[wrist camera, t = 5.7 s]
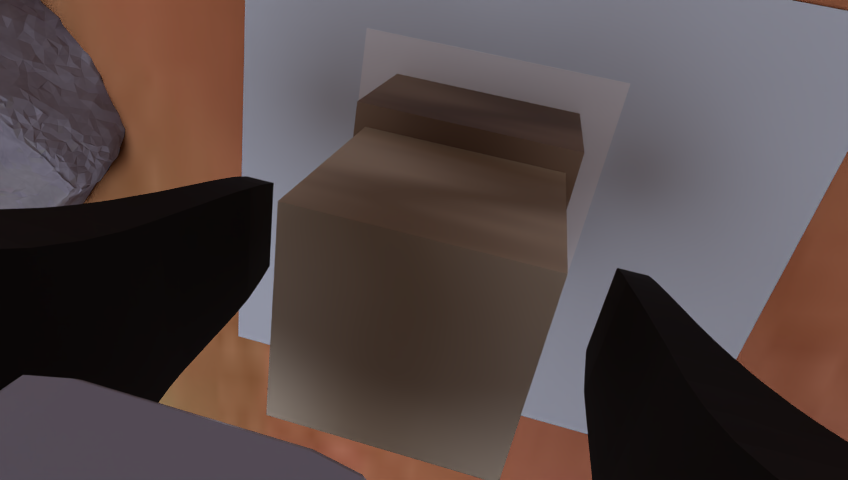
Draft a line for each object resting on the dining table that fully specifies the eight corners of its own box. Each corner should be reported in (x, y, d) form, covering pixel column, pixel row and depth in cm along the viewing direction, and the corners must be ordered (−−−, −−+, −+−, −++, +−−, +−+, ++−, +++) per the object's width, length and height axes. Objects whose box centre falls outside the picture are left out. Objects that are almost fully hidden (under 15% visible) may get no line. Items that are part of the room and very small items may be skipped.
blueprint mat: (911, 22, 13) (916, 23, 13) (680, 456, 19) (681, 461, 19) (251, -102, 15) (246, -103, 15) (241, 332, 21) (238, 336, 21)
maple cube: (565, 173, 12) (568, 274, 8) (515, 339, 14) (497, 483, 10) (365, 126, 13) (277, 200, 9) (344, 294, 15) (266, 414, 11)
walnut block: (579, 113, 15) (584, 152, 12) (532, 274, 17) (525, 341, 14) (397, 73, 16) (357, 101, 13) (374, 234, 18) (335, 290, 15)
